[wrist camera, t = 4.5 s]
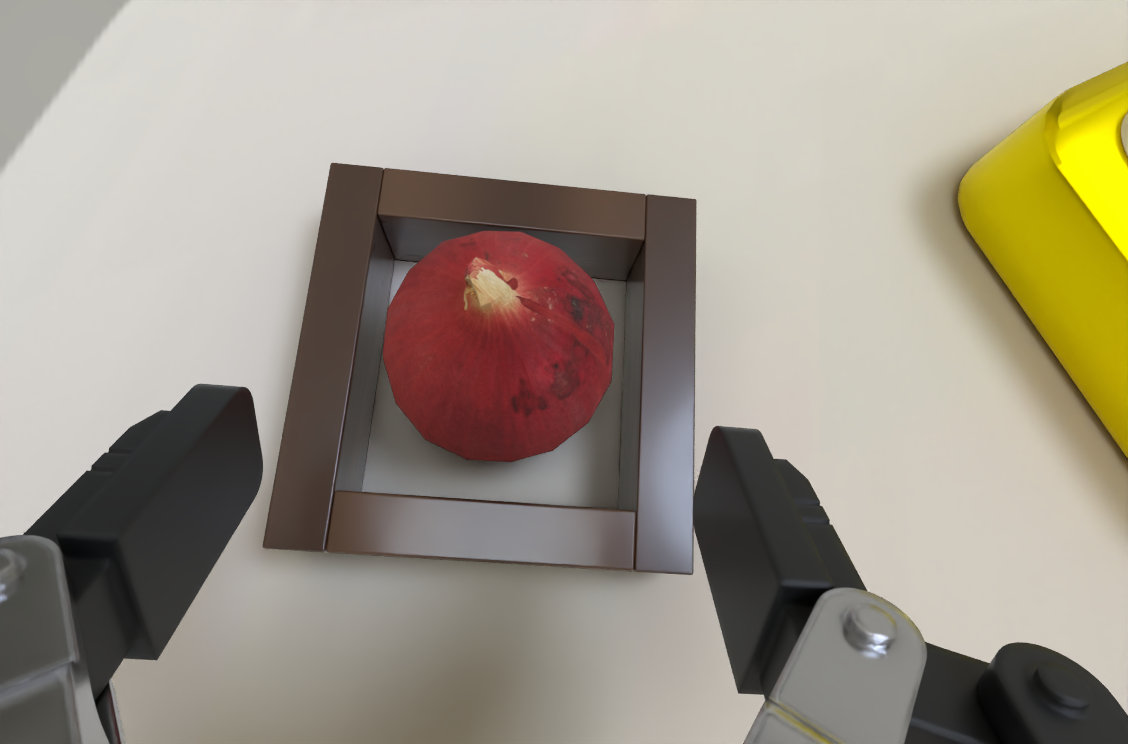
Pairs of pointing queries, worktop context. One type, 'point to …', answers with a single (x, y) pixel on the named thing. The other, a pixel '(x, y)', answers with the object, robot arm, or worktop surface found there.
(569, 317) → the onion
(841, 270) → the worktop surface
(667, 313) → the tray
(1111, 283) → the element tile
